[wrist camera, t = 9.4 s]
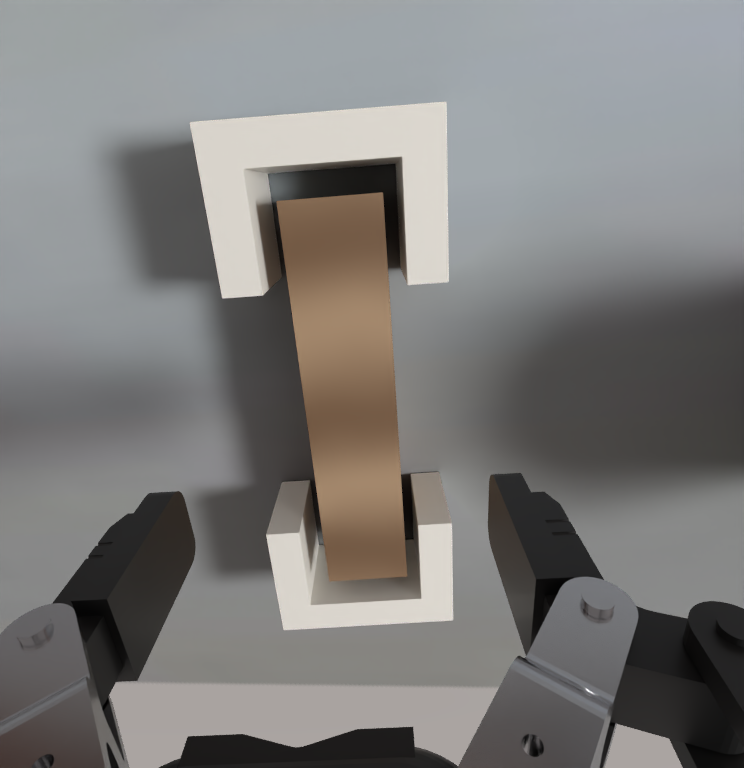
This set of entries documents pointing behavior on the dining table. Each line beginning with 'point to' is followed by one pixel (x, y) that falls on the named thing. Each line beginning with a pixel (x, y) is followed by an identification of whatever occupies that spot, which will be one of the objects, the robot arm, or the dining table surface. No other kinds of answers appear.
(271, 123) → the end caps
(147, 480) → the dining table surface
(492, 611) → the dining table surface
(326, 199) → the slat
